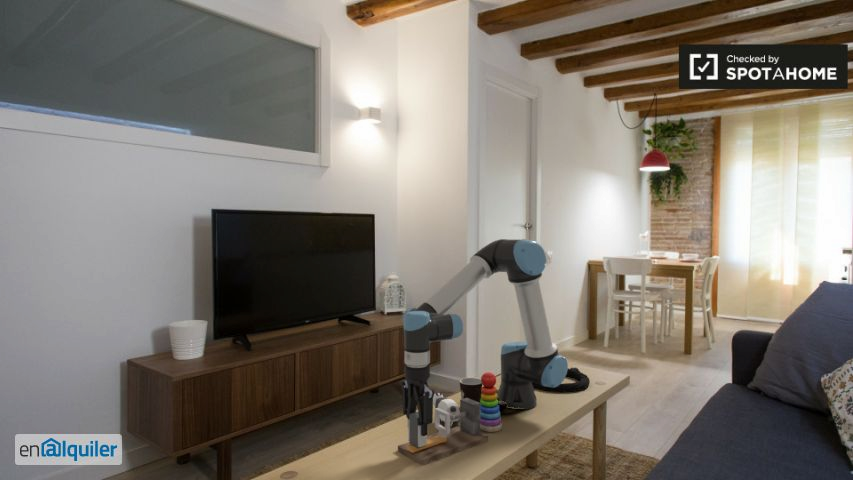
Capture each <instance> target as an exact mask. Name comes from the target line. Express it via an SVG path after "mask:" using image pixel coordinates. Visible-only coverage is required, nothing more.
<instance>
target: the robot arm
mask: <svg viewBox="0 0 853 480" xmlns="http://www.w3.org/2000/svg"><path fill="white" fill-rule="evenodd" d="M546 264H547V257H546V252H545V250H544V248H543V246H541V244H540V243H538V242H537V241H535V240H531V239H530V240H529V239H523V238H522V239H506V238H504V239H503V238H502V239H501V238H500V239H497V240H494V241H492V242H490V243H488V244H487V245H485V246H484V247H482V248H481V249H479V250H478V251H477V252H476V253H474V254H473V255H472V256H471V257H470V258H469V262H468V263H467V264H466V265H464V267H463V268H461V269H460V270H459V271H458V272H457V273H456V274H455V275H453V276H452V278H450V279H449V280H448V281H446V283H444V284H443V285H442V286H441V287H440V288H439V289H437V291H435V292H434V293H433V294H432V295H430V297H428V298H427V299H426V300H425V301H424V302H422V304H420V305H419V306H418V307H417V308H416V307H414V308H413V307H412V308H408V309H406V311H404V313H403V315H402V325H403V337H404V338H403V341H404V344H403V346H404V364H405V365H404V367H403V368H404V370H403V371H404V374H403V375H404V378H405V379H406V380H404V381H401V382H400V385H401V390H402V391H401V392H402V414H403V415H404V416H406V418H407V428H408V432H407V433H408V437H407V439H408V440H407V441H408V442H409V414H411V413H415V412H418V414H419V422H420V423H418V447H422V446H425V445H427V436H428V425H429V424H432V423H434V422H433V421H434V419H433V417H434V414H433V412H434V404H433V396H434V394H435V390H434V389H432V390H431V389H430V388H429V384H428V379H429V378H430V377H431V365H430V363H431V343H434V342H435V343H436V342H443V341H448V340H453V339H456V338H460V337H461V335H462V334H463V331H464V323H463V320H462V318H461V317H460V316H459V315H458V314H456V313H448V311H450V310H451V309H452V308H453V307H454V306H455V305H456V304H458V303H459V302H460V300H462V299H464V297H465V296H466V295H467V294H469V293H470V292H471V291H472V290H473V289H475V287H476V286H477V285H478V284H480V283H481V282H482V281H483V280H484V279H489V278H490V277H491V276H493V275H494V274H496V273H506V274H507V275H506V276H507V280H508V282H509V283H510V284H512V285H514V291H515V295H516V300H517V304H518V309H519V314H520V319H521V323H522V327H523V332H524V336H525V341H514V342H513V341H511V342H507V343H504V344H502V346H501V349H500V378H501V379H500V385H499V387H498V391H497V393H496V394H497V396H498V398H499V399H501V400H502V401H504V402H506V403H507V405H508V407H514V408H518V407H519V408H524V410H530V409H533V408H535V407H536V406H537V405H538V401H537V396H536V393H535V390H534V389H535V388H534V387H533V386H532V382H534V383H537V384H541V385H543V386H548V387H557V386H559V385H560V384H563V381H564V380H565V378H566V377H567V376H566V374H567V370H568V368H569V366H568V360H567V358H566V357H564V355H560V354H559V349H558V346H557V344H556V343H554V342H553V341H552V337H551V333H550V328H549V323H548V320H547V313H546V309H545V305H544V299H543V295H542V290H541V284H540V279H541V278H542V276H543V272H544V270H545V268H546ZM446 313H447V314H446Z"/></svg>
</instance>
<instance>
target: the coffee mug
mask: <svg viewBox="0 0 853 480" xmlns="http://www.w3.org/2000/svg"><path fill="white" fill-rule="evenodd" d="M482 387H483V384H482V383H481V378H478V377H463V378H461V379H459V388H460V396H461V399H465V398H469V399H471V400H474V401H477V402H479V403H480V400H481V399H482V398H481V394H482V391H481V389H482ZM461 399H460V400H461ZM480 404H481V403H480Z"/></svg>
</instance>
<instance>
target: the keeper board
mask: <svg viewBox="0 0 853 480" xmlns="http://www.w3.org/2000/svg"><path fill="white" fill-rule="evenodd" d="M459 403H460V407H459V411H460V412H459V413H456V414H452V415H450V420H452V421H453V420H455V419H458V418H460V419H459V423H460V424H459V425H458V426H457V427H450V433H448V434H446V438H447V441H445V442H443V443H440V444H437V445H434V446H431V447H428V448H425V449H422V450H419V451H416V452H413V453H412V452H410V451H409V450H407V449H406V446H407V445H410V444H409V441H408V442H405V443H401V444H398V445H397V451H398V452H399V453H401V454H403V455H404V456H406V457H408V458H409V459H411V460H412V461H414V462H415V463H417V464H419V465H421V466H424V465H427V464H429V463H432V462H434V461H437V460H439V459H444V458H445V457H449V456H451V455H454V454H456V453H460V452H462V451H465V450H467V449H468V450H469V449H471V448H473V447H476V446H479V445H481V444H484V443H486V442H488V441H489V438H488V436H487V435H485V434H483V433H481V429H480V405H481V403H479V402H477V401H474V400H471V399H469V398H465V399H460V402H459ZM438 435H439V432H436V433H433V434H431V435H427V439H429V438H432V437H435V436H438Z"/></svg>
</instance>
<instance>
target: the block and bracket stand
mask: <svg viewBox="0 0 853 480" xmlns="http://www.w3.org/2000/svg"><path fill="white" fill-rule="evenodd" d="M440 414H441V415H443V416H445V423H444V424H445V427H444V425H442V424H441V423H440ZM418 423H420V422H419V414H418V411H416V412H415V413H411V414H409V441H408V442H409V444H410V445H407V446H406V449H407V450H409V451H410V452H412V453H413V452H416V451H419V450H422V449H425V448H428V447H431V446H434V445H437V444H440V443H443V442H445V441H447V438H446V434H448V433H450V429H451V423H450V413H448V412H446V411H444V410H442V409H439V408H435V407H434V428H435V429H436V430H438V433H439V435H438V436H435V437H432V438H429V439H427V445H425V446H422V447H418Z"/></svg>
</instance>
